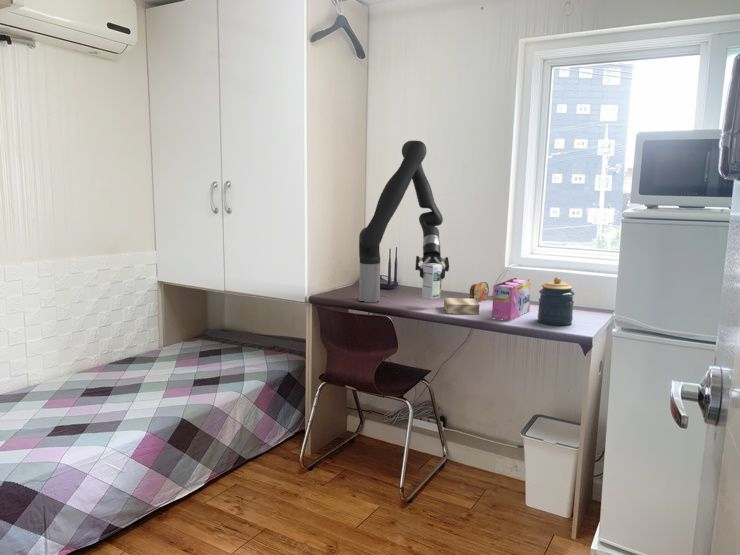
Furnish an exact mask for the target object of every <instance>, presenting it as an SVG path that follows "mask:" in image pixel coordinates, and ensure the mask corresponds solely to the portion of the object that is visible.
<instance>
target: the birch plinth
mask: <svg viewBox="0 0 740 555" xmlns="http://www.w3.org/2000/svg"><path fill="white" fill-rule="evenodd" d="M443 309H444V311H445V310H446V311H445V313H446V312H447V313H453V314H452V315H478V314H479V315H480V304H479V302H477V301H476V300H475V299H470V297H467V298H461V297H459V298H457V297H453V298H452V297H444V298H443ZM447 313H446V314H447Z"/></svg>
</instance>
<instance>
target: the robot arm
mask: <svg viewBox="0 0 740 555" xmlns="http://www.w3.org/2000/svg"><path fill="white" fill-rule="evenodd" d="M401 155H402V157H403V159H402V161H401V163H400V165H399V167H398V169H397V170H396V171H395V172H394V174H393V175H392V176H391V177H390V178H389V180H388V181H387V183H385V185H384V188H383V189H382V191H381V193H380V196H379V198H378V201H377V205H376V207H375V211H374V213H373V216H372V218H371V220H370V222H368V225H367V226H366V227H364V228H362V229H361V231H360V232H359V237H358V256H359V258H358V259H359V280H358V302H359V301H364V302H363V303H377V301H378V302H380V301H379V300H380V296H381V295H380V294H381V292H380V291H381V255H380V254H381V253H380V244H381V242H382V240H383V238H384V234H385V231H386V229H387V228H388V225H389V223H390V221H391V219H392V218H393V216H394V214H395V213H396V211H397V209H398V207H399V206H400V204H401V202H402V200H403V198H404V196H405V193H406V192H407V190H408V187H409V186H410V184H411V181H412V184H413V186H414V190H415V194H416V199H417V202H418V205H419V208H420V209H429V210H430V211H427V212H423V213H420V215H419V216H418V222H419V225H420V227H421V229H422V237H423V238H422V239H423V241H422V255H423V256H422V257H420V256H419V255H416V257H415V267H414V268H415V269H414V270H415V271H419V277H420V278H421V279H423V265H424V264H430V263H437V264H441V265H442V278H441V280H444V279H445V278H446V272H449V270H450V263H449V261H450V260H449V257H448V256H445V257H444V258H443V257H442V256H441V241H440V231H439V228H438V226H441V225H443V224H442V223H443V220H444V219H443V214H442V212H441V210H439V208H438V206H437V204H436V201H435V198H434V194H433V190H432V186H431V184H430V183H429V182H430V181H429V180H428V177H427V176H426V173H425V171H424V168H423V165H422V164H423V161H424V160H425V157H426V155H427V146H426V144H425V143H424V142H423V141H421V140H408V141H406V142H404V143H403V145H402V148H401ZM421 261H422V264H421V265H420V263H421ZM443 264H444V265H443Z"/></svg>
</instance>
